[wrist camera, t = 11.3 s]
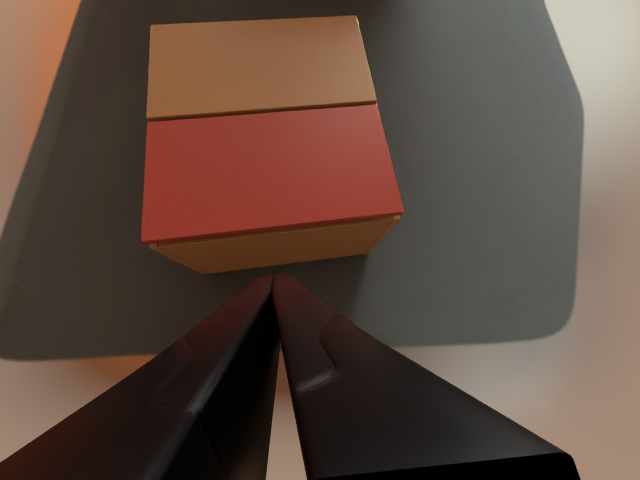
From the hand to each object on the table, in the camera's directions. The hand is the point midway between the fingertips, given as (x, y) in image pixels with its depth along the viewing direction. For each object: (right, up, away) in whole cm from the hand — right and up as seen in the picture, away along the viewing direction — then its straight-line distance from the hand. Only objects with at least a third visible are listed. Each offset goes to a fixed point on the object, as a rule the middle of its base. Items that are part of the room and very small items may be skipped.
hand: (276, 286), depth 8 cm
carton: (-2, +6, +13) cm, 14 cm away
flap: (-1, +5, +5) cm, 7 cm away
